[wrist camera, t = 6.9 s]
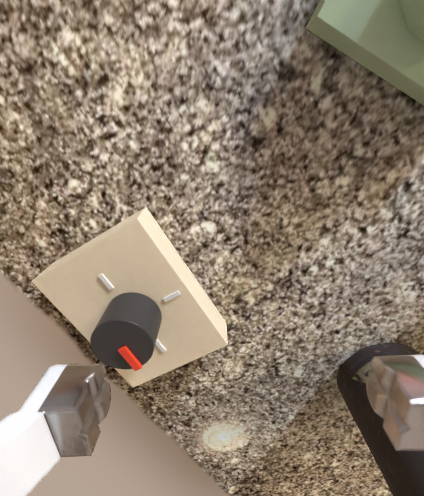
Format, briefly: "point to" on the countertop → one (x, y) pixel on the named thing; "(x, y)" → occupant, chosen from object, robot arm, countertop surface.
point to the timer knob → (127, 331)
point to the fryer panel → (139, 281)
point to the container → (380, 422)
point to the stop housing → (377, 38)
